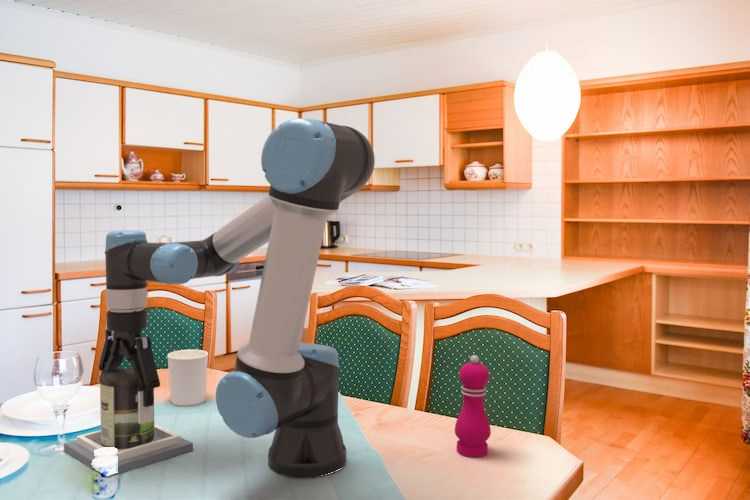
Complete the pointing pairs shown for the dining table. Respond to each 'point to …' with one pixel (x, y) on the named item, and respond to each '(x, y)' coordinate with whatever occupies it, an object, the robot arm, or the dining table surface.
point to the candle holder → (187, 376)
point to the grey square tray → (131, 449)
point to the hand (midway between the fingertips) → (128, 414)
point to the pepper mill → (473, 410)
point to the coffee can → (122, 411)
